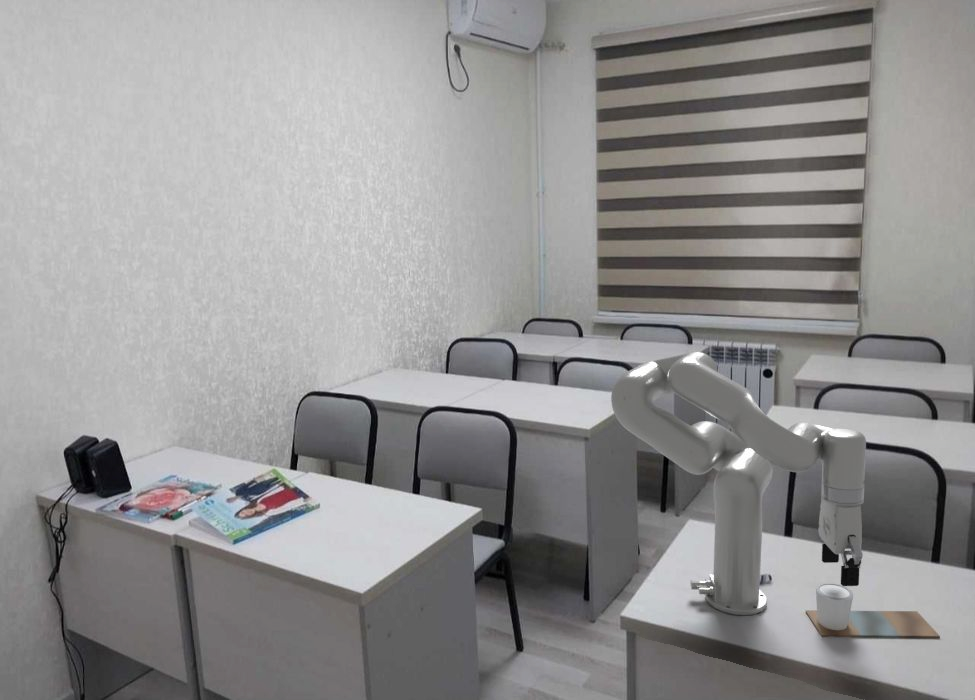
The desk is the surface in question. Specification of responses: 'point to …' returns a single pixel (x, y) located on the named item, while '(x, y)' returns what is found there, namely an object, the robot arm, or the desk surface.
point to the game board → (879, 625)
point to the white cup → (833, 605)
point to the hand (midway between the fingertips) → (839, 573)
